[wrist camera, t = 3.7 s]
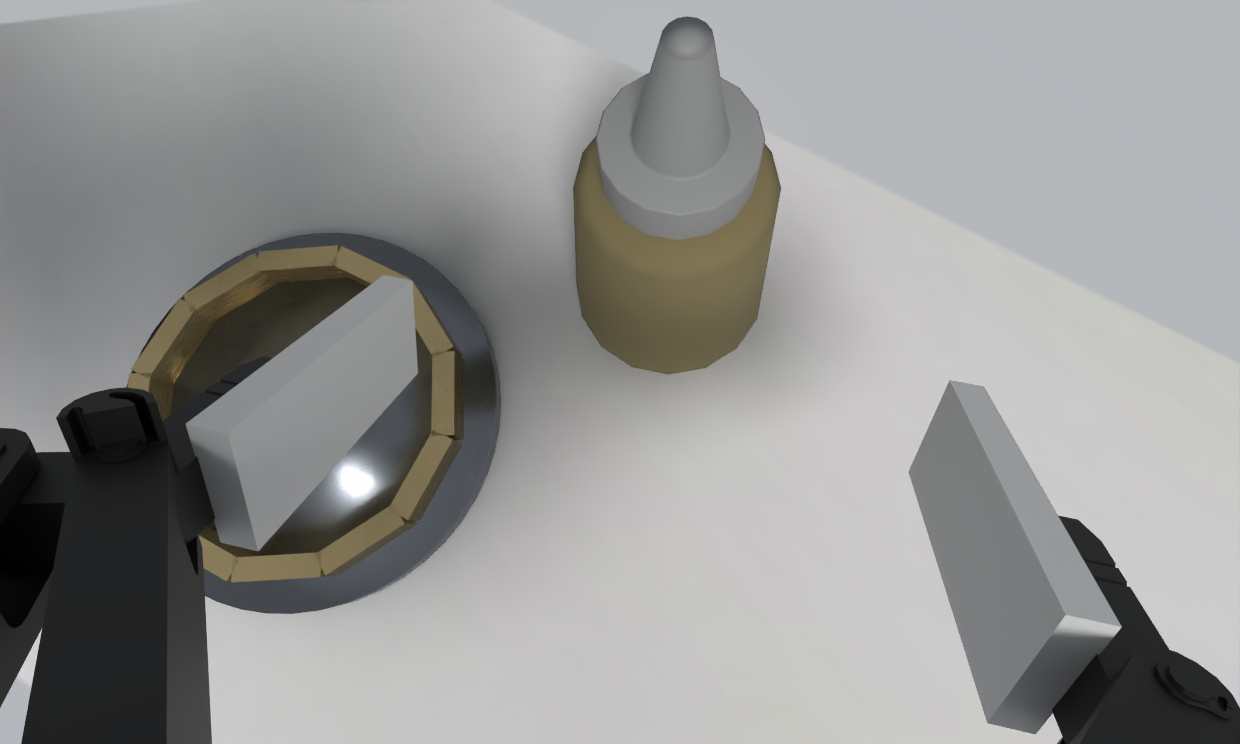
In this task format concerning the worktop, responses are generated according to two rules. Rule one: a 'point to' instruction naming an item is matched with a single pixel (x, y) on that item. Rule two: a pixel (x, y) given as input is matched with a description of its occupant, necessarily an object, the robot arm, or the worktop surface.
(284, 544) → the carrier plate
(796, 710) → the worktop surface
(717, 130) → the squeeze bottle
